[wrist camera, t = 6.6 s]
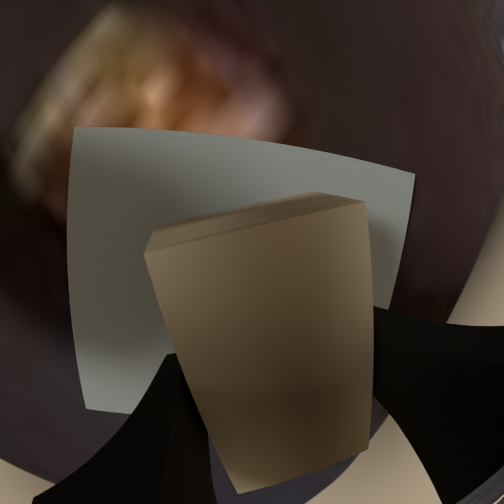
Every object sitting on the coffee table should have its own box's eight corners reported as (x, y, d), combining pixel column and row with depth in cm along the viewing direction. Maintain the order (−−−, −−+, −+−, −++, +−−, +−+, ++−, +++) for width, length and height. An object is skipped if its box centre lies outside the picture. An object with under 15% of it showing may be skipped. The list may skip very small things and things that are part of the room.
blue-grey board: (88, 399, 15) (86, 408, 14) (80, 128, 12) (74, 126, 11) (351, 396, 18) (357, 404, 18) (405, 173, 15) (415, 174, 14)
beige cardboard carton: (213, 390, 15) (238, 493, 9) (161, 212, 12) (143, 253, 6) (307, 362, 16) (368, 448, 10) (280, 185, 13) (365, 201, 7)
